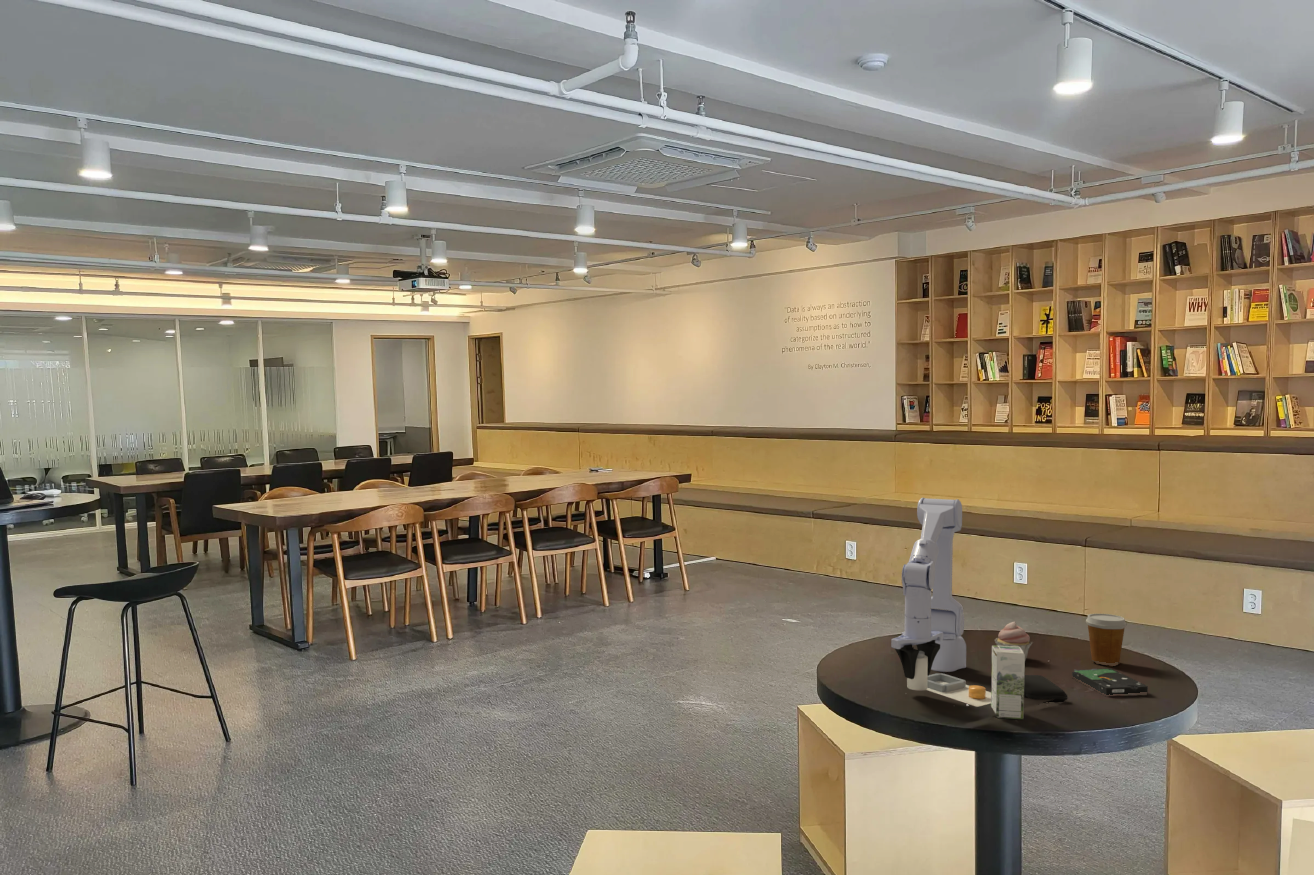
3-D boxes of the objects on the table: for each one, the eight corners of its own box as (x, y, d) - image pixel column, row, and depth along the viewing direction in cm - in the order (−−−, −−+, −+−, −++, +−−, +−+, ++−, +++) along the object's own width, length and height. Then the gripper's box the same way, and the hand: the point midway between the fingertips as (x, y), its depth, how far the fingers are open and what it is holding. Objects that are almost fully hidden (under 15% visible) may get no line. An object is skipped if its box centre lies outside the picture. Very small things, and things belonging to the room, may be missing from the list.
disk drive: (1149, 698, 211) (1110, 678, 226) (1149, 686, 211) (1111, 667, 226) (1106, 699, 210) (1070, 679, 225) (1106, 687, 210) (1070, 668, 225)
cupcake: (1034, 665, 236) (1034, 626, 236) (995, 662, 239) (996, 624, 238) (1030, 656, 245) (1030, 618, 245) (993, 653, 248) (993, 616, 247)
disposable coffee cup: (1089, 656, 245) (1089, 611, 244) (1128, 662, 239) (1129, 616, 239) (1081, 664, 237) (1082, 618, 236) (1122, 670, 231) (1123, 623, 231)
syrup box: (1018, 711, 200) (1018, 645, 199) (1024, 720, 194) (1025, 652, 194) (990, 709, 201) (991, 643, 200) (995, 718, 195) (996, 651, 195)
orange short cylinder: (975, 693, 209) (975, 684, 209) (989, 697, 206) (989, 688, 206) (965, 695, 207) (965, 686, 207) (978, 700, 204) (978, 691, 204)
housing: (939, 680, 223) (939, 670, 223) (1009, 702, 206) (1010, 691, 206) (907, 687, 217) (907, 677, 217) (977, 711, 200) (977, 699, 200)
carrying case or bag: (998, 685, 220) (1023, 705, 205) (998, 672, 220) (1023, 691, 205) (1042, 685, 220) (1070, 705, 205) (1043, 672, 220) (1071, 692, 205)
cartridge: (919, 683, 210) (919, 648, 210) (931, 689, 206) (931, 653, 205) (903, 685, 208) (903, 650, 208) (914, 691, 204) (915, 655, 204)
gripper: (926, 609, 214) (925, 667, 214) (881, 616, 206) (880, 676, 207) (950, 615, 208) (950, 674, 208) (905, 622, 200) (904, 684, 201)
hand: (917, 676), depth 207 cm, fingers closed on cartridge, 4 cm apart
